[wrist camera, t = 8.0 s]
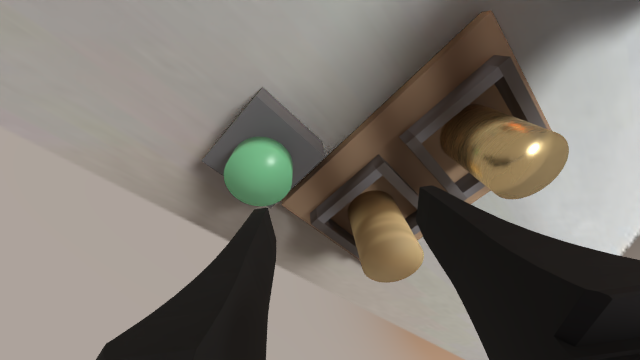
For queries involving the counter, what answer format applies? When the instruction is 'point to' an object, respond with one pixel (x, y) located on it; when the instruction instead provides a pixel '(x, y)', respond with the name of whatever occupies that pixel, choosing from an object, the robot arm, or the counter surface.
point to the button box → (269, 136)
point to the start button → (259, 171)
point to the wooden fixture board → (411, 152)
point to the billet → (504, 151)
